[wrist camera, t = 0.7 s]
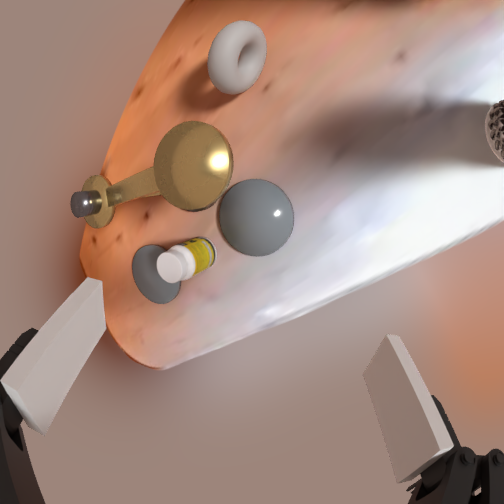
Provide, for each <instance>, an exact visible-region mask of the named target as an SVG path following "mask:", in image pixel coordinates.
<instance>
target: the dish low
mask: <svg viewBox="0 0 504 504" xmlns="http://www.w3.org/2000/svg"><path fill="white" fill-rule="evenodd" d="M166 251H167V250H166V249H164V248H163V247H160V246H158V245H147V246H144V247H142V248H140V249H139V250H138V251H137V253H136V254H135V256H134V259H133V264H132V270H133V276H134V280H135V282H136V285H137V287H138V288H139V290H140V291H141V293H142V294H143V295H144V296H145V297H146V298H147V299H149V300H150V301H152V302H154V303H158V304H165V303H168V302H170V301H171V300H173V299H174V298H175V297H176V296H177V295H178V293H179V290H180V286H181V280H180V281H178V282H176V283H168V282H166V281H165V280H164V279H162V277H161V276H160V275H159V273H158V270H157V259H158V257H159V256H160V255H161V254H162V253H164V252H166Z"/></svg>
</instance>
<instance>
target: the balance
mask: <svg viewBox="0 0 504 504" xmlns="http://www.w3.org/2000/svg"><path fill="white" fill-rule="evenodd" d="M232 173H233V154H232V149H231V147H230V144H229V142H228V140H227V139H226V137H225V136H224V134H223V133H222V132H221V131H220V130H218V129H217V128H215V127H214V126H212V125H209V124H206V123H203V122H198V121H188V122H184V123H181V124H179V125H177V126H175V127H174V128H172V129H171V130H170V131H169V132H168V133H167V134H166V135H165V136H164V137H163V139H162V140H161V142H160V144H159V146H158V148H157V151H156V154H155V158H154V166H153V167H151V168H149V169H146V170H144V171H142V172H140V173H137V174H135V175H133V176H131V177H129V178H126V179H124V180H122V181H120V182H118V183H116V184H114V185H112V184H111V183H110V181H109V180H108V179H107V178H106V177H104V176H102V175H95V176H91V177H89V178H88V179H87V180H86V181H85V183H84V185H83V188H82V191H81V192H75V193H74V194H73V195H72V198H71V210H72V213H73V214H74V216H75V217H77V218H79V217H84V218H85V220H86V222H87V223H88V224H89V225H90V226H91V227H93V228H102V227H105V226H107V225H108V224H109V223H110V222H111V220H112V218H113V216H114V213H115V207H116V206H117V205H120V204H123V203H126V202H129V201H132V200H135V199H138V198H141V197H149V196H158V195H163V197H164V198H165V199H166V200H167V201H168V202H169V203H171V204H172V205H174V206H175V207H178V208H180V209H185V210H188V211H193V212H196V211H202V210H206V209H208V208H210V207H211V206H212V205H214V204H215V203H216V201H217V200H218V199H219V198H220V197H221V196H222V195H223V193H224V192H225V190H226V189H227V187H228V185H229V183H230V180H231V177H232Z"/></svg>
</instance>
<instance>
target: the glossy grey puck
mask: <svg viewBox="0 0 504 504" xmlns="http://www.w3.org/2000/svg"><path fill="white" fill-rule="evenodd" d="M219 218H220V225H221V229H222V232H223V234H224V236H225V237H226V239H227V241H228V242H229V243H230V244H231V245H232V246H233V247H234V248H235V249H237V250H238V251H240V252H242V253H244V254H246V255H250V256H265V255H269V254H271V253H273V252H275V251H277V250H278V249H279V248H281V247H282V246H283V245H284V244H285V243H286V241H287V240H288V238H289V237H290V235H291V232H292V229H293V225H294V213H293V208H292V205H291V202H290V200H289V198H288V197H287V195H286V194H285V193H284V192H283V190H281V189H280V188H279V187H278V186H276V185H275V184H273V183H271V182H269V181H266V180H261V179H250V180H245V181H242V182H240V183H238V184H236V185H235V186H233V187H232V188H231V189H230V190H229V191H228V192H227V194H226V195H225V197H224V199H223V201H222V203H221V207H220V215H219Z"/></svg>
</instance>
